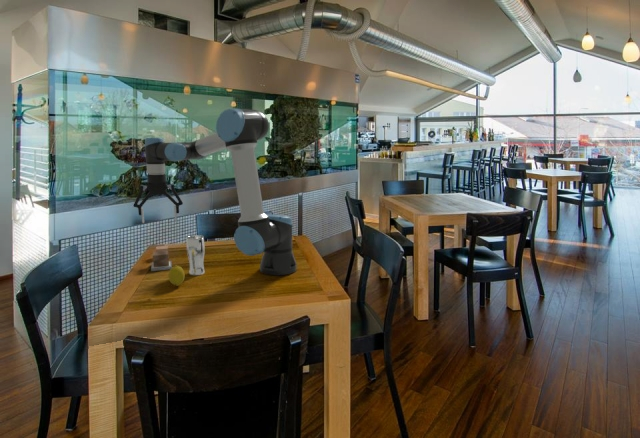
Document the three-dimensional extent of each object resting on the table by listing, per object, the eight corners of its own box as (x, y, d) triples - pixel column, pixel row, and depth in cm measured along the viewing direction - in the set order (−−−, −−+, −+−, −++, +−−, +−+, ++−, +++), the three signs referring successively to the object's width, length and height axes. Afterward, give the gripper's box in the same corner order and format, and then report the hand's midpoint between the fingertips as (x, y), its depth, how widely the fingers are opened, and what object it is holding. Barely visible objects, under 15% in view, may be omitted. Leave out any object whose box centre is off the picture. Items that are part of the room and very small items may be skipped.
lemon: (186, 283, 159) (185, 263, 158) (182, 288, 154) (181, 267, 152) (172, 283, 159) (170, 263, 158) (167, 288, 154) (165, 267, 152)
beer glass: (201, 276, 167) (199, 239, 164) (184, 275, 169) (182, 238, 166) (209, 270, 174) (207, 235, 171) (193, 269, 175) (191, 234, 172)
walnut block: (153, 267, 175) (152, 255, 174) (153, 263, 180) (152, 251, 179) (169, 265, 177) (168, 254, 176) (168, 261, 182) (167, 250, 181)
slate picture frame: (171, 269, 176) (171, 266, 176) (151, 271, 173) (150, 268, 173) (171, 263, 184) (171, 260, 184) (151, 264, 181) (151, 262, 181)
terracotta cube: (168, 259, 190) (168, 248, 189) (156, 260, 189) (156, 249, 188) (168, 256, 195) (167, 245, 194) (157, 257, 193) (156, 246, 192)
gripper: (186, 172, 192) (188, 218, 196) (125, 173, 183) (129, 221, 187) (187, 173, 185) (189, 221, 189) (124, 175, 176) (128, 225, 180)
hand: (159, 221), depth 188 cm, fingers open, 13 cm apart
